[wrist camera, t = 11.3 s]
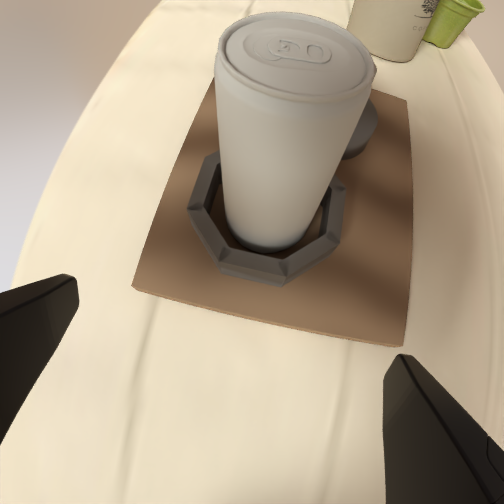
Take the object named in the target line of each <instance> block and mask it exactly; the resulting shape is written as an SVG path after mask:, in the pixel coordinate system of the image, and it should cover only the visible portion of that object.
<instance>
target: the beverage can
mask: <svg viewBox="0 0 504 504" xmlns="http://www.w3.org/2000/svg"><path fill="white" fill-rule="evenodd" d="M373 75H374V62H373V59H372V57H371V55H370V52H369V51H368V49H367V48H366V47H365V46H364V44H363V43H362V42H361V41H360V40H359V39H358V38H356V37H355V36H354V35H353V34H351V33H350V32H349V31H347V30H345V29H344V28H342V27H340V26H338V25H336V24H334V23H332V22H330V21H327V20H324V19H321V18H319V17H315V16H311V15H306V14H302V13H293V12H266V13H261V14H256V15H251V16H248V17H246V18H243V19H241V20H238V21H236V22H235V23H233V24H232V25H231V26H229V27H228V28H227V29H226V30H225V31H224V33H223V34H222V35H221V37H220V38H219V44H218V52H217V54H216V58H215V66H214V77H215V92H216V106H217V120H218V133H219V146H220V158H221V170H222V182H223V194H224V205H225V216H226V221H227V225H228V229H229V230H230V232H231V234H232V235H233V237H234V238H235V239H236V240H237V241H238V242H239V243H240V244H241V245H243V246H244V247H246V248H248V249H250V250H252V251H256V252H260V253H275V252H278V251H282V250H285V249H287V248H289V247H291V246H293V245H295V244H296V243H297V242H299V241H300V240H301V239H302V238H303V236H304V234H305V233H306V231H307V229H308V227H309V225H310V223H311V221H312V219H313V217H314V215H315V213H316V211H317V208H318V206H319V204H320V202H321V200H322V198H323V196H324V194H325V192H326V190H327V188H328V186H329V183H330V181H331V179H332V177H333V175H334V173H335V171H336V169H337V167H338V164H339V162H340V160H341V158H342V156H343V154H344V151H345V149H346V147H347V145H348V143H349V141H350V138H351V136H352V134H353V132H354V130H355V127H356V125H357V123H358V121H359V119H360V116H361V114H362V112H363V110H364V107H365V105H366V103H367V101H368V98H369V96H370V93H371V79H372V77H373Z"/></svg>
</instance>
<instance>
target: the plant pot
mask: <svg viewBox="0 0 504 504" xmlns="http://www.w3.org/2000/svg"><path fill="white" fill-rule="evenodd" d="M484 11H485V8H484V6H483V4H482V3H481V2H480V1H479V0H440V1H439V3H438V5H437V8H436V10H435V12H434V14H433V16H432V19H431V21H430V23H429V25H428V27H427V29H426V31H425V34H424V36H423V38H422V39H423V40H425V41H427V42H432V43H434V44H435V45H436V46H437V47H440V48H448V47H450V45H451V44H452V43H453V42H454V40H455V39H456V38H457V37H458V35H459V34H460V33H461V32H462V30H463V29H464V28H465V27H466V26H467V24H468V23H469V22H470V21H471V19H472V18H474V17H476V16H477V15H478V14H479V13H481V12H484Z"/></svg>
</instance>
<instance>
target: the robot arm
mask: <svg viewBox="0 0 504 504" xmlns="http://www.w3.org/2000/svg"><path fill="white" fill-rule="evenodd" d="M78 307H79V294H78V286H77V280H76V278H75V277H73V276H70V275H67V274H60V275H56V276H53V277H50V278H47V279H43V280H40V281H37V282H34V283H30V284H27V285H24V286H21V287H18V288H15V289H11V290H8V291H5V292H2V293H0V445H1V443H2V441H3V439H4V437H5V435H6V433H7V431H8V430H9V428H10V426H11V424H12V422H13V420H14V419H15V417H16V415H17V413H18V411H19V410H20V408H21V406H22V404H23V403H24V401H25V399H26V398H27V396H28V394H29V392H30V391H31V389H32V387H33V386H34V384H35V382H36V381H37V379H38V378H39V376H40V374H41V373H42V371H43V369H44V368H45V366H46V365H47V363H48V362H49V360H50V358H51V357H52V355H53V354H54V352H55V350H56V349H57V347H58V345H59V343H60V342H61V340H62V338H63V336H64V334H65V332H66V330H67V328H68V326H69V324H70V322H71V321H72V319H73V317H74V315H75V313H76V311H77V309H78ZM383 444H384V460H385V485H386V504H504V451H503V450H502V449H501V448H500V447H499V446H498V445H497V444H496V443H495V442H494V440H493V439H492V438H491V437H490V436H488V434H487V433H486V432H485V431H484V430H483V429H482V427H481V426H480V425H479V424H478V423H477V422H476V421H475V420H474V419H473V418H472V417H471V416H470V415H469V414H468V413H467V411H466V410H465V409H464V408H463V407H462V406H461V405H460V404H459V403H458V402H457V401H456V400H455V399H454V398H453V397H452V396H451V395H450V394H449V393H448V392H447V391H446V389H445V388H444V387H443V386H442V385H441V384H440V383H439V382H438V381H437V380H436V379H435V378H434V377H433V376H432V375H431V374H430V373H429V372H428V371H427V370H426V369H425V368H424V367H423V366H422V365H421V364H420V363H419V362H418V361H417V360H416V359H415V358H414V357H413V356H412V355H407V354H398V355H397V356H396V357H395V359H394V361H393V362H392V364H391V366H390V367H389V369H388V371H387V372H386V374H385V376H384V380H383Z"/></svg>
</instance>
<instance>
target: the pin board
mask: <svg viewBox="0 0 504 504" xmlns="http://www.w3.org/2000/svg"><path fill="white" fill-rule="evenodd" d="M376 72H377V68H376V66H375V64H374V75H373V77H372V79H371V84H372V82H373V80H374V77H375V75H376ZM412 237H413V182H412V159H411V143H410V131H409V120H408V111H407V102H406V100H403V99H400V98H397V97H395V96H392V95H389V94H386V93H383V92H380V91H377V90H374V89H371V93H370V96H369V98H368V101H367V103H366V105H365V107H364V110H363V112H362V114H361V116H360V119H359V121H358V123H357V125H356V127H355V130H354V132H353V134H352V136H351V138H350V141H349V143H348V145H347V147H346V149H345V151H344V154H343V156H342V158H341V160H340V162H339V164H338V167H337V169H336V171H335V173H334V175H333V177H332V179H331V181H330V183H329V186H328V188H327V190H326V192H325V194H324V196H323V198H322V200H321V202H320V204H319V206H318V208H317V211H316V213H315V215H314V217H313V219H312V221H311V223H310V225H309V227H308V229H307V231H306V233H305V234H304V236H303V238H302V239H301V240H300V241H299V242H297V243H296V244H295V245H293V246H291V247H289V248H287V249H285V250H282V251H278V252H275V253H260V252H256V251H252V250H250V249H248V248H246V247H244V246H243V245H241V244H240V243H239V242H238V241H237V240H236V239H235V238H234V237H233V235H232V234H231V232H230V230H229V229H228V225H227V221H226V216H225V205H224V194H223V182H222V170H221V158H220V146H219V133H218V120H217V106H216V92H215V77H214V78H213V80H212V82H211V84H210V86H209V88H208V90H207V92H206V95H205V97H204V99H203V101H202V103H201V105H200V107H199V109H198V112H197V114H196V116H195V118H194V120H193V123H192V125H191V127H190V129H189V132H188V134H187V136H186V139H185V141H184V143H183V146H182V148H181V150H180V153H179V155H178V157H177V160H176V162H175V165H174V167H173V170H172V172H171V175H170V177H169V180H168V182H167V185H166V187H165V190H164V192H163V195H162V198H161V200H160V203H159V206H158V208H157V211H156V214H155V217H154V219H153V222H152V225H151V228H150V231H149V233H148V236H147V239H146V242H145V245H144V248H143V251H142V254H141V257H140V260H139V263H138V266H137V269H136V273H135V276H134V279H133V282H132V285H131V286H132V287H133V288H135V289H136V290H138V291H141V292H145V293H148V294H152V295H156V296H159V297H163V298H166V299H170V300H174V301H178V302H181V303H185V304H189V305H193V306H197V307H201V308H205V309H209V310H213V311H217V312H221V313H225V314H229V315H233V316H237V317H242V318H246V319H250V320H255V321H259V322H264V323H268V324H273V325H277V326H282V327H287V328H291V329H296V330H301V331H306V332H311V333H316V334H321V335H326V336H332V337H337V338H342V339H348V340H353V341H359V342H365V343H371V344H377V345H383V346H389V347H400V346H403V342H404V335H405V327H406V319H407V310H408V300H409V289H410V277H411V261H412Z"/></svg>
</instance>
